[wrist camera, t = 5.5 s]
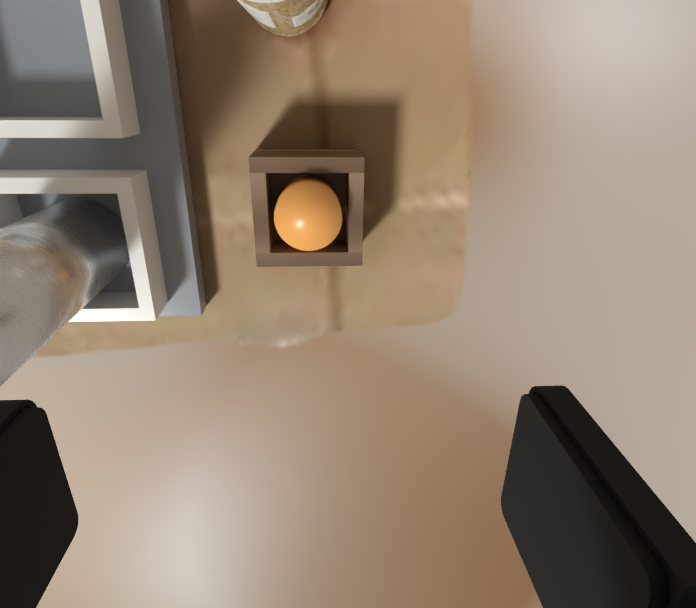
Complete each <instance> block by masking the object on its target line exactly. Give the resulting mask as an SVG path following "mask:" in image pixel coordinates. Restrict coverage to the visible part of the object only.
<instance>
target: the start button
mask: <svg viewBox="0 0 696 608" xmlns="http://www.w3.org/2000/svg"><path fill="white" fill-rule="evenodd" d="M274 223H275V227H276V229H277V232H278V234H279V235H280V237H281V238H282V239H283V240H284V241H285V242H286V243H287V244H288V245H290V246H292V247H294V248H296V249H299V250H304V251H314V250H318V249H321V248H324V247H326V246H327V245H329V244H330V243H331V242H332V241H333V240H334V239H335V238H336V236H337V235H338V233H339V231H340V228H341V225H342V211H341V206H340V201H339V197H338V194H337V192H336V190H335V188H334V187H333V185H332V184H331V183H330V182H329V181H327V180H326V179H325V178H323V177H321V176H318V175H314V174H303V175H299V176H296V177H294V178H292V179H291V180H289V181H288V182H287V183H286V184H285V186H284V187H283V188H282V190H281V192H280V195H279V198H278V201H277V204H276V207H275V211H274Z"/></svg>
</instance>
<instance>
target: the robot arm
mask: <svg viewBox="0 0 696 608" xmlns="http://www.w3.org/2000/svg"><path fill="white" fill-rule="evenodd" d="M501 506H502V512H503V515H504V518H505V521H506V523H507V525H508V528H509V530H510V532H511V535H512V537H513V539H514V541H515V544H516V546H517V548H518V551H519V553H520V555H521V558H522V560H523V562H524V565H525V567H526V569H527V571H528V574H529V576H530V578H531V580H532V583H533V585H534V588H535V590H536V592H537V595H538V597H539V599H540V601H541V604H542V606H543V608H696V543H695V542H694V540H693V539H692V538H691V537H690V536H689V534H688V533H687V532H686V531H685V530H684V528H683V527H682V526H681V525H680V524H679V522H678V521H677V520H676V519H675V517H674V516H673V515H672V514H671V513H670V511H669V510H668V509H667V508H666V507H665V506H664V504H663V503H662V502H661V501H660V499H659V498H658V497H657V496H656V494H654V492H653V491H652V490H651V488H650V487H649V486H648V485H647V484H646V482H645V481H644V480H643V479H642V477H641V476H640V475H639V474H638V473H637V472H636V470H635V469H634V468H633V467H632V465H631V464H630V463H629V462H628V461H627V460H626V458H625V457H624V456H623V455H622V453H621V452H620V451H619V450H618V448H617V447H616V446H615V445H614V444H613V442H612V441H611V440H610V439H609V438H608V436H607V435H606V434H605V433H604V432H603V430H602V429H601V428H600V427H599V426H598V424H597V423H596V422H595V421H594V419H593V418H592V417H591V416H590V415H589V413H588V412H587V411H586V410H585V409H584V407H583V406H582V405H581V404H580V403H579V401H578V400H577V399H576V398H575V397H574V395H573V394H572V393H571V392H570V390H569V389H568V388H566V387H565V386H535V387H532V388H531V390H530V391H529V394H524V395H523V396H522V397H521V400H520V404H519V409H518V414H517V419H516V424H515V429H514V434H513V440H512V445H511V450H510V455H509V460H508V465H507V470H506V476H505V480H504V486H503V491H502V496H501ZM77 526H78V513H77V510H76V507H75V503H74V501H73V497H72V494H71V491H70V488H69V485H68V481H67V478H66V475H65V472H64V468H63V466H62V462H61V459H60V456H59V453H58V449H57V446H56V443H55V440H54V437H53V433H52V430H51V427H50V424H49V421H48V418H47V414H46V412H45V411H44V410H43V409H42V408H37V406H36V404H35V403H34V402H33V401H30V400H1V401H0V608H36V606H37V604H38V603H39V601H40V599H41V597H42V595H43V593H44V592H45V590H46V587H47V586H48V584H49V582H50V580H51V579H52V577H53V575H54V573H55V571H56V569H57V567H58V565H59V564H60V562H61V560H62V558H63V556H64V554H65V552H66V550H67V549H68V547H69V545H70V543H71V541H72V539H73V538H74V536H75V533H76V530H77Z"/></svg>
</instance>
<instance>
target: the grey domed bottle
mask: <svg viewBox="0 0 696 608" xmlns="http://www.w3.org/2000/svg"><path fill="white" fill-rule="evenodd" d="M129 259H130V258H129V252H128V247H127V242H126V237H125V231H124V226H123V221H122V220H121V219H120V218H119V217H118V215H117V214H115V213H114V212H113V211H112V210H111V209H109V208H108V207H106V206H105V205H103V204H101V203H99V202H96V201H93V200H90V199H85V198H71V199H66V200H63V201H60V202H58V203H56V204H54V205H52V206H49V207H47V208H45V209H43V210H41V211H38V212H36V213H34V214H32V215H30V216H27V217H25V218H23V219H21V220H19V221H16V222H14V223H12V224H10V225H8V226H5V227H3V228H1V229H0V386H1V385H2V384H3V383H4V382H5V381H6V380H8V378H10V377H11V375H13V374H14V373H15V372H16V371H17V370H18V369H19V368H20V367H21V366H22V365H23V364H24V363H25V362H26V361H27V360H29V359H30V358H31V357H32V356H33V355H34V354H35V353H36V352H37V351H38V350H39V349H40V348H41V347H42V346H43V345H44V344H45V343H46V342H47V341H48V340H50V339H51V338H52V337H53V336H54V335H55V334H56V333H57V332H58V331H59V330H60V329H61V328H62V327H63V326H64V325H65V324H66V323H67V322H68V321H69V320H71V319H72V318H73V317H74V316H75V315H76V314H77V313H78V312H79V311H80V310H81V309H82V308H83V307H84V306H85V305H86V304H87V303H88V302H89V301H90V300H92V299H93V298H94V297H95V296H96V295H97V294H98V293H99V292H100V291H101V290H102V289H103V288H104V287H105V286H106V285H107V284H108V283H109V282H110V281H111V280H113V279H114V278H115V277H116V276H117V275H118V274H119V273H120V272H121V271H122V270H123V269H124V268H125V266H126V265H127V263H128V261H129Z"/></svg>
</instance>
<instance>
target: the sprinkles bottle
mask: <svg viewBox="0 0 696 608" xmlns="http://www.w3.org/2000/svg"><path fill="white" fill-rule="evenodd" d="M237 1H238V2H239V3H240V4H241V5H242V6H243V7H244V8H245V9H246V10H247V11H248V12H249V13H250V14H251V16H252V17H253V18H254V19H255V20H256V22H257V23H258V24H259V25H260V26H261V27H263V28H264V29H266V30H268V31H270V32H272V33H273V34H276V35H281V36H288V37H291V36H296V35H299V34H302V33H304V32H306V31H307V30H308V29H310V28H311V27H313V26H314V25H315V24H316V23H317V22H318V21H319V19H320V18H321V16H322V14H323V12H324V10H325V7H326V4H327V0H237Z"/></svg>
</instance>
